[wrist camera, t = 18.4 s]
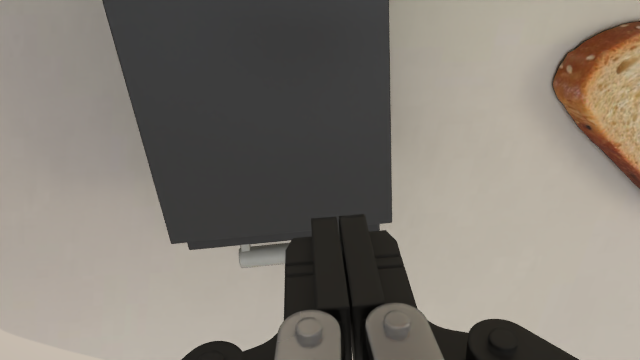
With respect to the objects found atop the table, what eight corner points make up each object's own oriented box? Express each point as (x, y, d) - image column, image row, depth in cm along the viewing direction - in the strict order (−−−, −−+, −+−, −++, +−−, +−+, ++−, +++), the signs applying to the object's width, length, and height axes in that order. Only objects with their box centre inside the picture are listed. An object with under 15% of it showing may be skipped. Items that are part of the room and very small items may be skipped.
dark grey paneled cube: (369, 149, 37) (392, 223, 28) (198, 166, 37) (171, 244, 28) (360, -72, 30) (388, -62, 21) (148, -52, 29) (92, -34, 21)
